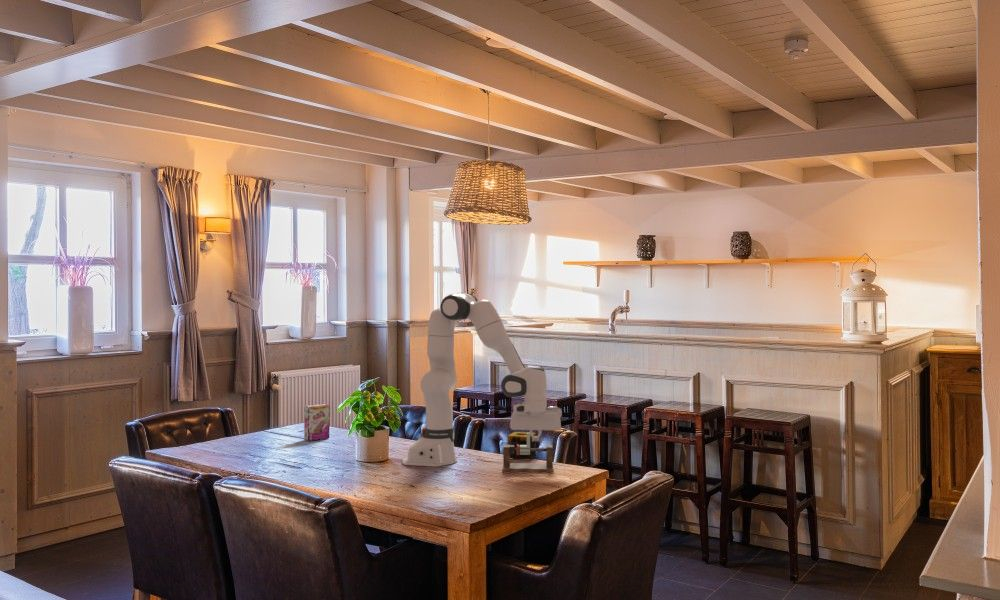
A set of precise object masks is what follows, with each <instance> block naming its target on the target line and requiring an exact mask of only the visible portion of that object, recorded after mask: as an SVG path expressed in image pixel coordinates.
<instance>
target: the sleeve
mask: <svg viewBox="0 0 1000 600" xmlns="http://www.w3.org/2000/svg"><path fill="white" fill-rule="evenodd" d="M520 448H530V433H528V432H527V445H520ZM520 455H530V449H520Z"/></svg>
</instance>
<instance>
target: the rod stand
mask: <svg viewBox="0 0 1000 600" xmlns="http://www.w3.org/2000/svg"><path fill="white" fill-rule="evenodd" d="M502 448H503V451H502V452H503V453H502V455H503V458H502V459H503V462H502V463H503V465H502V472H547V473H546V474H551V473H550V472H554V471H555V470H554V461H553V459H554V458H553V456H554V455H553V453H554V451H553V449H554V447H553V444H546V447H545V448H544V447H542V448H540V447H539V448H537V447H536V448H519V445H517V448H514V445H508V444H503V446H502ZM520 449H530V451H536V452H546V460H545V461H546V462H545V463H544V462H543V463H542V462H540V463H539V462H538V463H537V462H530V463H529V462H521V463H520V462H511V459H510V454H514V451H517V455H519V451H520Z"/></svg>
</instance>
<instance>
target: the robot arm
mask: <svg viewBox="0 0 1000 600" xmlns="http://www.w3.org/2000/svg"><path fill="white" fill-rule="evenodd" d="M463 320H464V321H465V320H469V321H471V323H472V324H473V326H474V329H475V331H476V333H477V336H478V338H479V339H480V341H481V343H482V345H484V346H485V347H487V348H489V349H491V350H493V351H494V352H496V353H498V354H499V355H500V356H501V357H502V360H503V362H505V365H506V368H507V369H508V371H509V372H510V374H507V375H505V376H504V377H503V378H502V380H501V384H500V388H501V392H502V393H503V394H504V395H505V396H506V397H507V398H513V399H515V398H519V397H523V399H524V401H523V402H520V403H516V404H514V405H513V412H512V413H511V416H510V422H509V423H510V424H509V428H510V430H511V431H529V433H530V435H531V437H532V441H536V442H540V437H541V435H542V434H543V431H561V429H562V423H561V418H562V416H563V411H562V408H561V407H558V406H547V405H548V403H547V394H546V392H547V387H548V386H547V385H548V384H547V375H546V374H547V373H546V371H545V369H544V368H543V367H541V366H538V365H531V364H529V365H526V366H525V364H524V362H523V361H522V360H521V358H520V355H519V354H518V353H519V352H518V351H517V349H516V348H515V346H514V344H513V342H512V340H511V338H510V337H509V334H508V332H507V330H506V327H505V326H504V323H503V321H502V319H501V316H500V315H499V313H498V311H497V308H495V306H494V305H493V303H492V302H491V301H490V300H488V299H481V300H478V298H477V297H476V296H475V295H473V294H472V293H468V292H467V293H466V292H458V293H451V294H448V295H446V296H445V297H444V298H443V299H442V300H441V302H440V308H435V309H434V310H433V311H431V313H430V316H429V320H428V327H427V342H426V343H427V344H426V355H427V357H428V360H429V366H430V367H429V371H427V372H426V373H425V374H424V375H423V376H422V378H421V379H420V385H419V386H420V389H421V391H422V395H423V400H424V405H425V413H426V414H425V419H426V420H425V422H426V423H425V424H426V425H425V426H426V427H425V426H424V427H422V428H421V437H420V438H419V439H417V440H416V441H415V442H414V443H412V445H410V446H409V448H408V452H407V456H405V457H404V458H403V459H402V462H401V463H402V464H403V465H404V466H417V467H418V466H419V467H420V466H421V467H434V468H435V467H437V468H438V467H443V466H447V465H452V464H455V463H457V462H458V459H457V455H456V452H455V444H454V441H455V427H454V421H453V420H454V419H453V418H454V417H453V416H454V413H453V412H454V411H453V407H452V403H451V399H450V392H451V391H452V390H453V389H454V388H455V387H456V384H457V382H458V375H457V371H456V363H455V356H454V354H455V352H454V351H455V327H456V324H457V322H458V321H459V322H460V321H463ZM534 431H537V432H538V435H537V436H533V434H532V433H534Z"/></svg>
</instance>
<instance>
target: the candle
mask: <svg viewBox="0 0 1000 600" xmlns="http://www.w3.org/2000/svg"><path fill="white" fill-rule="evenodd" d="M528 433H529V432H528ZM532 434H533V436H536V432H533V433H532ZM536 442H537V441H532V437H531V435H530V448H537V445H536V444H537V443H536ZM507 445H514V448H517V445H519V448H520V445H527V432H525V431H524V432H523V431H514V432H512V433H510V434H509V435H507ZM536 456H537V451H530V455H520V451H519V455H517V451H514V454H510V458H513V459H512V460H521V459H529V460H528V461H530V460H532V459H533V458H534V457H536Z"/></svg>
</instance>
